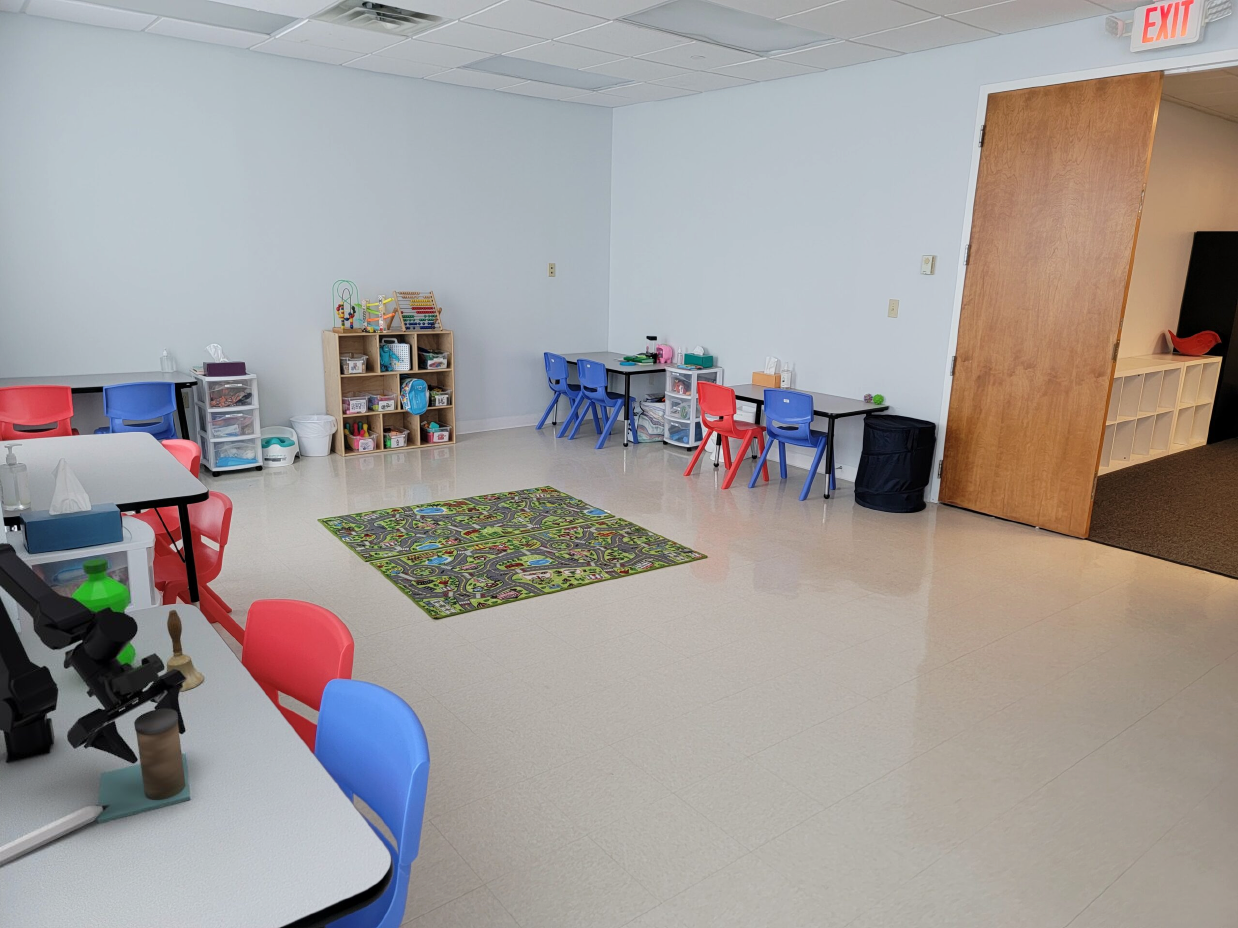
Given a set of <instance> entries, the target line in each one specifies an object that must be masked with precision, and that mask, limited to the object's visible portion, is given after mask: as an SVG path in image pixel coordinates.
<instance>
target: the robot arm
mask: <svg viewBox="0 0 1238 928" xmlns="http://www.w3.org/2000/svg"><path fill="white" fill-rule="evenodd" d="M0 588H2V589H3V590H4V591H5V592H6V593H7V594H8V595H9V596H10V597H11V598H12V599H13V600H15V602H16V603H18V605H19V606H20V607H22V609H23V610H25V611H26V612H27V614H29V616H30V617H31V618H32V620H33V622H32V623H33V632H35V634H36V635H37V636H38V638H39V639H40V641H41V643H42V644H43V645H44V646H46V648H49V649H50V650H53V651H56V650H60V651H61V650H62V649H64V648H67V647H70V646H72V645H75V644H76V643H78V644H77V645H75V647H74V648H72V649H69V650H67V651H65V652H64V655H65V656H64V657H65V658H64V660H63V668H64V669H65V670H66V669H67V670H68V669H69V668H71V667H72V668H73V669H74V670H75V672H76V673H77V674H78V676H79V677H80V678H81V679H82V681H83V683H85V685H86V686H87V687H88V690H87V691H86V694H87V696H88V697H89V698H92V697H95V698H96V699H97V700H98V702H99V703H100V704H101V705H102V707H103V708H101V707H100V708H99V707H98V708H96V709H94V710H92V711H91V712H89V713H87V714H85V715H83V716H81V717H79V718H78V719H77V720H76V721H75V722H74V724H73V725H72V726H71V727H70V728H69V729H68V731H67V734H66V738H67V741H68V743H69V744H70V745H71V747H72V748H73V749H74V750H75V749H77V748H79V747H81V746H83V748H84V749H88V748H93V749H96V750H99V751H102V752H105V753H108V754H111V755H113V756H115V757H117V758H119V759H122V760H124V761H126V762H128V763H131V764H136V763H137V762H138V761H139V759H138V757H137V756H136V754H135V752H134V750H133V749H132V748H131V747H130V746H129V744H128V743H127V741H126V740H124V738H123V737H122V736H121V734H120V733H119V732H118V728H117V724H116V721H115V720H117V719H118V718H121V717H123V716H125V715H126V714H129V713H130V712H132V711H134V710H135V709H138V708H139V707H141V706H143V705H144V704H146V703H148V702H151V703H154V704H155V706H154V707H153V710H156V709H173V710H175V711H176V712H177V715H178V728H179V735H184V734H185V733H186V730H187V729H186V727H185V723H184V719H183V716H182V715H183V714H182V712H181V708H180V702H179V700H180V699H179V696H180V692H179V691H180V690H181V689H182V688H183V683H184V682H185V681H186V680H187V678H186V677H185V675H184V674H183V673H182V672H181V671H180V670H176V669H173V670H171V671H169V672H167V671H166V672H167V673H166V672H165V673H163V674H161V675H159V673H161V672H163V671H164V670H165V668H166V667H165V664H164V662H163V659H162V658H160V657H159V656H158V655H157V653H156V652H155V653H152V654H149V655H147V656H145V657H143V658H141V659H140V665H138V666H137V667H133V666H132V664H131V665H130V664H128V663H125V664H123V665H122V663H121V662H120V661H119V659H118V658H117V656H119V655H120V654H121V652H122V651H123V650H124V649H125V648H126V646H127V645H128V644H129V643H131V642H132V641H133V639H134V638H135V636H136V635H137V633H138V628H139V627H138V623H137V621H136V619H135V618H134V617H133V616H130V615H129V614H127V613H126V612H125V613H122V612H113V611H112V609H111V608H110V607H107V608H104V609H102V610H99V611H98V612H94V611H92V610H90V609H89V608H88V607H86V606H85V605H83V604H82V603H81V602H79V601H78V600H76V599H74V598H71V597H69V596H65V595H61V594H59V592H57V591H55V589H53V588H52V586H50V585H49V583H47V582H46V581H45V580H44V579H43V578H42V577H41V576H39V574H37V572H36V571H34V570H33V568H31V567H30V566H29V565H28V564H27V563H26V562H25V561H24V560H23V559H22V558H21V557H19V555H18V554H17V551H16V549H15V547H14V546H13V545H12V544H11V543H8V542H0ZM21 640H22V639H20V636H19V633H18V632H17V630H16V628H15V625H14V623H13V621H12V619H11V617H10V614H9V613H8V610H7V608H6V606H5V604H4V601H3V599H2V597H1V596H0V731H2V732H3V738H4V744H5V749H6V756H5V763H13V762H16V761H21V760H25V759H31V758H34V757H35V758H36V757H38V756H44V755H47V754H50V753H51V748H52V746H53V745H54V743H55V732H54V726H53V719H52V718H51V717H48V714H49V713H52V712H54V711H56V710H57V706H58V705H57V704H58V698H59V697H58V696H59V688H58V684H57V683H56V681H55V680H54V677H53V676H52V673H51V671H50V669H49V668H48V667H47V666H46V665H43V666H39V665H38V664H36V663H34V662H32V660H30V658H29V655H28V653H27V652H26V649H25V647H24V645H23V643H22V641H21ZM146 688H147V689H146ZM144 689H145V690H144Z"/></svg>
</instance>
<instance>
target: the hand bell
mask: <svg viewBox="0 0 1238 928" xmlns="http://www.w3.org/2000/svg"><path fill="white" fill-rule="evenodd" d="M166 624H167V627H166V628H167V632H168V635H169V637H170V638H171V641H172V642H171V644H172V652H173V653H172V655H173V656H171V657H170V658H169V659H167V662H166V672H165V673H167V672H169V671H171V670H173V669H176V670H180V671H181V672H182V673H183V674H184V675H185V677H186V678H187V680H186V681H185V682H184V683H183V688H182V689H181V690H180V691H179V693H181V692H185V691H188V690H192V689H194V688H196V687H199V685H201V684H202V683H203V682H204V679H205V676H204V675H203V674H202V673H201V672H200V671H197V669H196V668H195V667H194V664H193V660H192V657H191V656H190V655H188V654H184V652H183V647H182V640H181V636H182V631H183V630H182V629H183V627H182V625H183V624H182V620H181V618H180V616H179V615H178V612H177V610H176V609H173V610H172V609H171V610H170V611H169V612H168V617H167V622H166Z"/></svg>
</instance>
